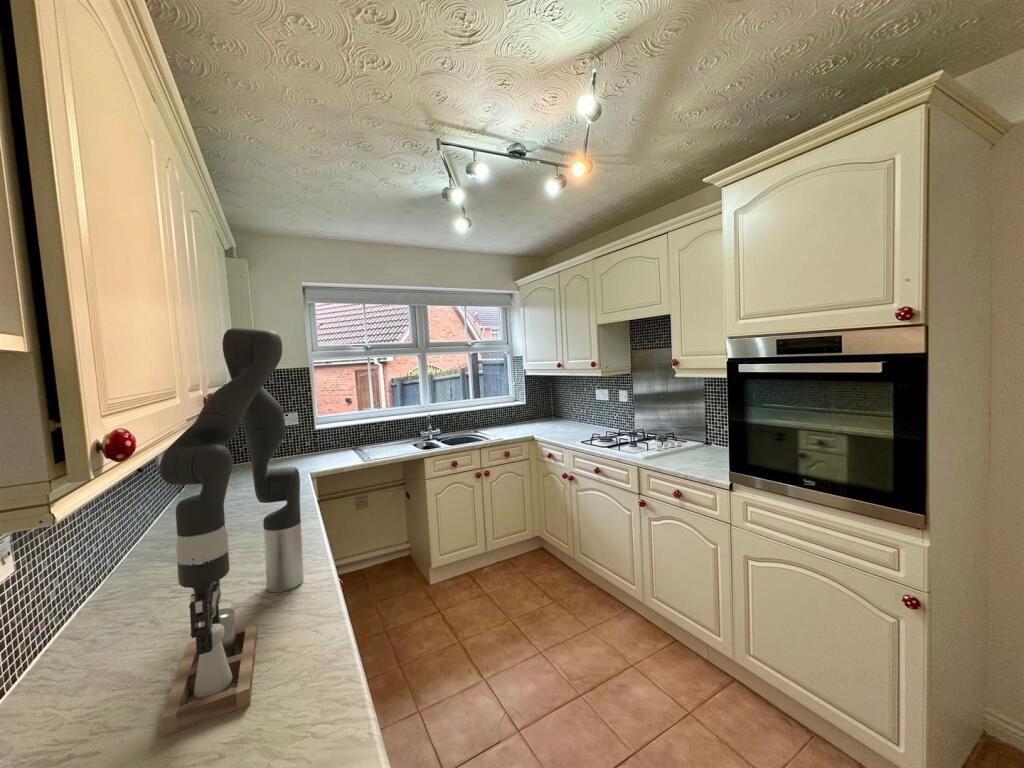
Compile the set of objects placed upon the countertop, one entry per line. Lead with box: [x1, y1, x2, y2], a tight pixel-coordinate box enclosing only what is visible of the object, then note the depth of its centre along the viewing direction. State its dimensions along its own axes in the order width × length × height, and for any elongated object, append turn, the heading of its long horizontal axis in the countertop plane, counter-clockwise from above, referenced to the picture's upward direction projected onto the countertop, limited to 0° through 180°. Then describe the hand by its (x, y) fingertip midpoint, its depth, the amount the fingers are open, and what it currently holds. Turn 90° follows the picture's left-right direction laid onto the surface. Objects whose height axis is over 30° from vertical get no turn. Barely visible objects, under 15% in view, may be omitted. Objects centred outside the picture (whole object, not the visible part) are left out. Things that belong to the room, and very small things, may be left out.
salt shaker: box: [193, 624, 233, 701], centre depth 76 cm, size 6×6×13 cm
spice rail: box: [160, 624, 258, 737], centre depth 81 cm, size 22×12×3 cm, turn 29°
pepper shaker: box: [200, 607, 238, 658], centre depth 85 cm, size 6×6×10 cm
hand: (208, 638), depth 76 cm, fingers open, 8 cm apart
